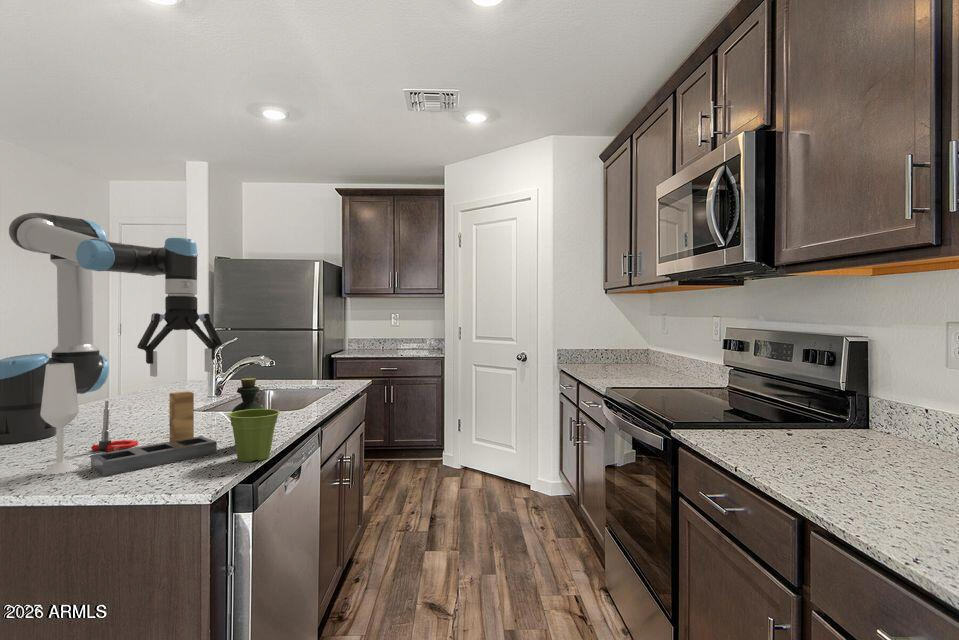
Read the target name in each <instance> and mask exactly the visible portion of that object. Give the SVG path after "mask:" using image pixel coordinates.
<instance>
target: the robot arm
mask: <svg viewBox="0 0 959 640" xmlns="http://www.w3.org/2000/svg"><path fill="white" fill-rule="evenodd" d="M8 235H9V237H10V240H11V241H12V242H13V243H14V244H15V245H16V246H17V247H19V248H20V249H22V250H25V251H27V252H28V251H29V252H33V253H39V254H47V255H50V256H49V257H50V258H49V260H50V262H51V263H52V264H53V265H55V266H56V286H57V287H56V292H57V293H56V294H57V295H56V298H57V302H56V304H57V346H56V347H55V348H53V349H52V350H51V357H50V356H49V354H48V353H31V354H30V353H29V354H21V355H15V356H10V357H6V358H2V359H0V445H2V444H3V445H4V444H17V443H25V442H26V443H27V442H32V441H37V440H43V439H44V440H45V439H48V438H51V437H53V436H57V428H56V427H53V426H51V425H50V424H48V423H47V422H45V421H44V420H43V418H42V417H41V415H40V413H41V405H42V396H43V388H44V379H45V370H46V365H47V364H58V363H73V366H74V374H75V382H76V391H77V395H78V394H80V395H83V394H86V393H91V392H96V391H98V390H100V389H102V387H103V386H104V385H105V383H106V382H107V380H108V378H109V373H110V365H109V362H108V359H107V357H106V356H104V355H102V354H100V349H99V347H97V346H95V344H94V310H93V309H94V305H93V304H94V299H93V298H94V292H93V291H94V290H93V289H94V288H93V287H94V286H93V282H94V281H93V277H94V276H93V271H95V272H112V273H113V272H116V273H125V274H126V273H127V274H139V275H141V276H152V277H156V276H163V275H164V279H165V280H164V281H165V283H164V284H165V287H164V289H165V290H164V293H165V294H166V295H167V296H166V297H165V299H164V301H165V303H164V304H165V305H164V309H165V311H164V314H161V313H159V312H158V313H155V312H154V313H152V314H151V316H150V317H151V318H150V323H149V324H148V326H147V328H146V330H145V331H144V334H142V336H141V339H140V340H139V342H138V344H137V346H136V347H137V349H139V350H143V351H145V363H146V364H148V365H149V369H150V370H149V372H150V373H149V375H150V377H158V351H156V350H155V349H156V348H157V347H158V346H159V345H160V344H161V342H162V341H163V340H164V339H165V338H166V337H167V336H168V335H169V334H170V333H172V331H183V330H184V331H191V332H193V333H194V335H196V337H198V339H200V341H201V342H202V343H203V344H204V345H205V346H206V347H207V348H204V372H206V373H212V372H213V371H212V369H213V367H212V365H213V364H212V363H213V362H212V361H213V360H215V358H216V356H215V355H216V353H215V352H216V350H215V349H216V348H217V347H221V346H222V345H223V342H222V340H221V339H220V337H219V334H218V333H217V331H216V329H215V328H214V325H213V324H212V321H211V316H210V313H202V314H199V312H198V297H197V296H195V295H198V249H197V248H198V246H197V242H196V241H195V240H194V239H191V238H185V237H167V238H166V239H165V241H164V245H163V246H164V247H152V246H143V245H134V244H125V243H121V242H119V243H118V242H112V241H108V238H107V235H106V232H105V231H104V229H103V228H102V227H101V225H100V224H98V223H96V222H94V221H93V220H92V221H91V220H86V219H83V218H77V217H68V216H62V215H56V214H49V213H42V212H29V213H24V214H21V215H19V216H18V217H15V218H14V219H13V220H12V221H11V222H10V224H9V227H8ZM163 320H164V321H165V323H166V324H165V325H164V326H163V328H162V329H161V331H159V332H158V333H157V335H155V334H154V333H155V332H156V330H157V328H158V326H159V324H160V323H161V322H162V321H163ZM198 321H200V322H202V324H203V327H204V329H205V330H206V332H207V334H208V335H206V333H205V332H204V331H203V329H201V327H200V326H199V325H198V324H197V322H198ZM153 335H155V337H154V338H153V339H152V337H153ZM208 336H209V337H208Z"/></svg>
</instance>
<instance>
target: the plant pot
mask: <svg viewBox="0 0 959 640" xmlns="http://www.w3.org/2000/svg"><path fill="white" fill-rule="evenodd" d="M280 414H281V411H280V410H279V409H271V408H264V409H249V410H241V411H235V412H232V411H231V412H229V413H227V417H228V418H229V419H230V424H231V428H232V431H233V432H232V433H233V438H234V446H235V452H236V457H237V460H238V461H240V462H247V463H249V462H250V463H251V462H253V461H256V460H257V461H260V462H261V461H264V460H265V459H266V460H267V459H268V458H270V455H271V451H272V444H273V439H274V433H275V427H276V424H277V421H278V417H279V415H280Z"/></svg>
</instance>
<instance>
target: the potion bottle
mask: <svg viewBox="0 0 959 640" xmlns="http://www.w3.org/2000/svg"><path fill="white" fill-rule="evenodd" d="M256 381H257V378H256V377H248V378H247V377H246V378H245V377H244V378H240V382H241V386H240V387H237V390H236V394H239V395H240V397H241V401H242V402H241V403H239V404H237V405H236V406H234V407H233V408H232V411H231V412H235V411H241V410H249V409H265V407H264V406H263V405H262V404H260V403H258V402H256V401H255V399H256V395H257V393H259V392H261V390H260V386H256Z"/></svg>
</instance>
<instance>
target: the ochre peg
mask: <svg viewBox="0 0 959 640" xmlns="http://www.w3.org/2000/svg"><path fill="white" fill-rule="evenodd" d="M194 398H195V393H194V392H192V391H186V390H185V391H176V392H169V399H168V401H169V404H168V405H169V411H168V412H169V415H168V417H169V418H168V419H169V442H170V441H176V440H182V439H187V438H193V437H194V435H195V434H194V433H195V431H194V429H195V428H194V426H195V425H194V424H195V421H194V418H195V417H194V415H195V414H194V411H195V410H194V409H195V408H194V407H195V406H194V405H195V404H194V403H195V402H194V401H195V400H194Z"/></svg>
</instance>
